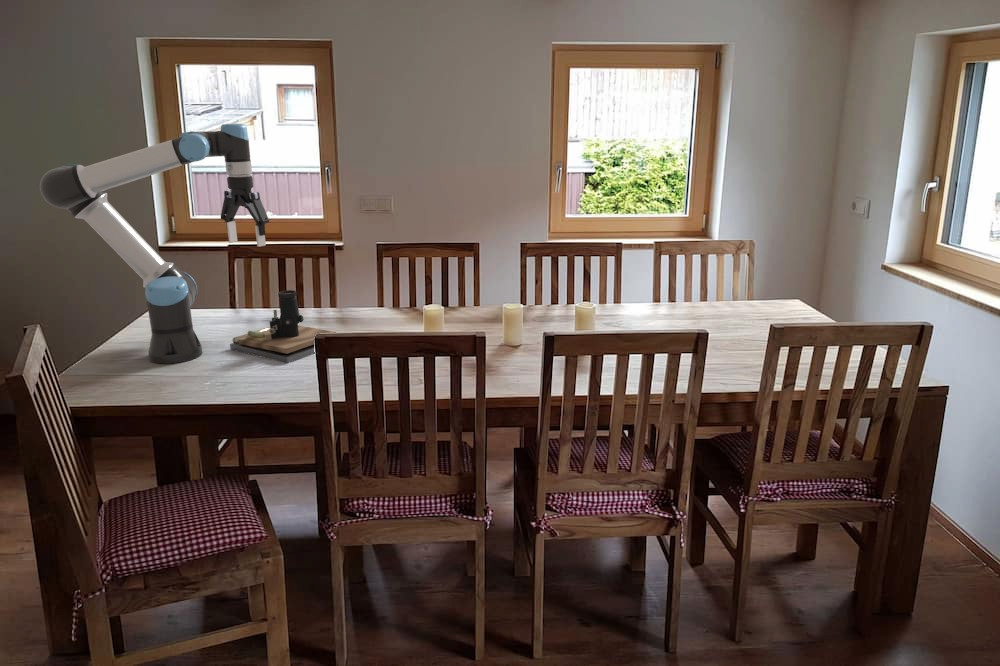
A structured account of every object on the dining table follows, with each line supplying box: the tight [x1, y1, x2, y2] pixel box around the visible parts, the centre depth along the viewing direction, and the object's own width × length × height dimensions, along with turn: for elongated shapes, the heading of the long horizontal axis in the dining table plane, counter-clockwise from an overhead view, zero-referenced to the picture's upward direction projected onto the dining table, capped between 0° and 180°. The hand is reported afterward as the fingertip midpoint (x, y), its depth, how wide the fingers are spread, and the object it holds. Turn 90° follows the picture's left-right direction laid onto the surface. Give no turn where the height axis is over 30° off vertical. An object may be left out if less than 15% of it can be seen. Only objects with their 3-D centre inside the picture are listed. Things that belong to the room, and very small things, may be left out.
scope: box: [269, 289, 304, 339], centre depth 245 cm, size 8×14×10 cm
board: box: [238, 325, 337, 354], centre depth 248 cm, size 22×20×4 cm
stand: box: [229, 326, 316, 364], centre depth 249 cm, size 26×22×4 cm
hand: (247, 244), depth 251 cm, fingers open, 13 cm apart
